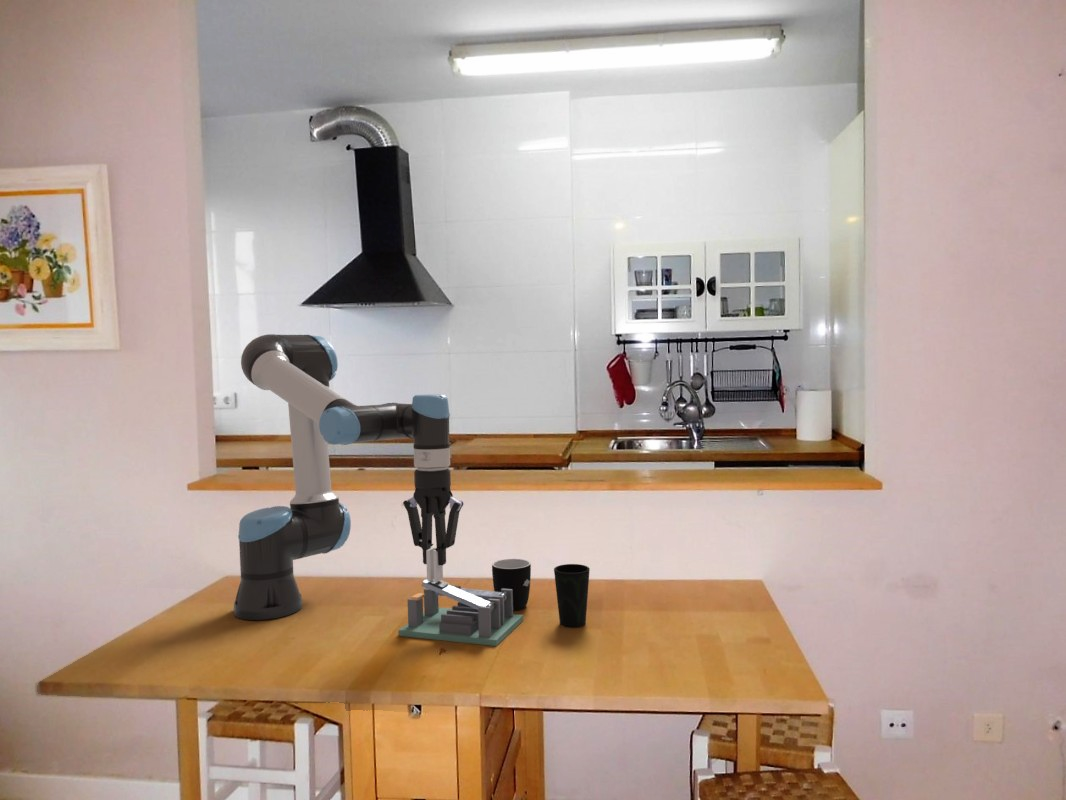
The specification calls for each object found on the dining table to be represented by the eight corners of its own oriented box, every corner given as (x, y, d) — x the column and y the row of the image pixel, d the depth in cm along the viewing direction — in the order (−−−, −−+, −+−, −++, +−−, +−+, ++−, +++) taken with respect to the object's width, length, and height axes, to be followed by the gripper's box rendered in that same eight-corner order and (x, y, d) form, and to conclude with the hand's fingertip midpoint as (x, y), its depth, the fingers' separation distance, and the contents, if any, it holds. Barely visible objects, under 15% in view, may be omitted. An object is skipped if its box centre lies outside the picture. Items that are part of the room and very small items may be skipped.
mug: (528, 613, 172) (527, 568, 172) (489, 612, 174) (488, 568, 173) (536, 597, 184) (535, 555, 184) (499, 596, 185) (498, 555, 185)
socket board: (398, 635, 159) (397, 599, 159) (432, 611, 175) (431, 579, 174) (496, 646, 152) (495, 608, 152) (523, 620, 167) (522, 586, 167)
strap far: (435, 596, 167) (435, 588, 167) (442, 591, 170) (442, 583, 170) (502, 603, 162) (502, 596, 162) (508, 599, 165) (508, 591, 165)
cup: (548, 626, 163) (547, 570, 163) (564, 615, 170) (563, 562, 170) (581, 631, 160) (580, 574, 159) (596, 620, 166) (595, 566, 166)
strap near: (421, 587, 160) (423, 579, 159) (429, 582, 163) (430, 575, 163) (488, 615, 155) (490, 608, 155) (495, 610, 158) (497, 602, 158)
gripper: (393, 469, 158) (396, 582, 159) (455, 471, 154) (457, 587, 155) (410, 465, 165) (413, 573, 166) (470, 466, 161) (472, 577, 162)
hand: (435, 579), depth 160 cm, fingers closed
